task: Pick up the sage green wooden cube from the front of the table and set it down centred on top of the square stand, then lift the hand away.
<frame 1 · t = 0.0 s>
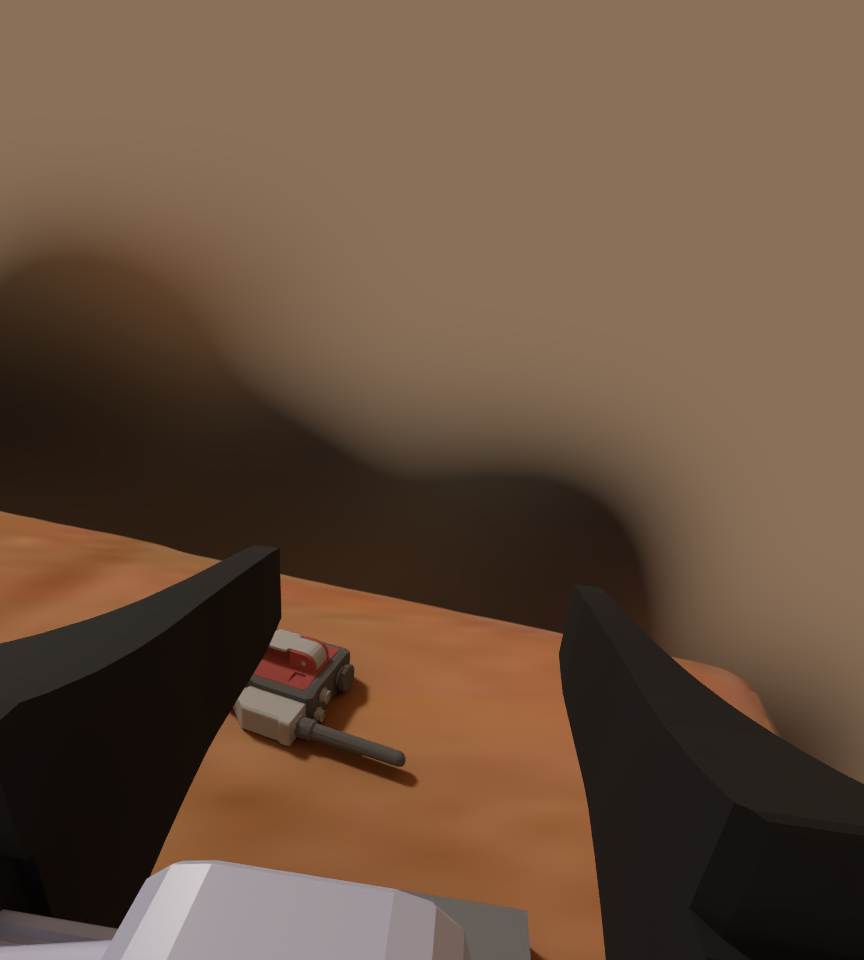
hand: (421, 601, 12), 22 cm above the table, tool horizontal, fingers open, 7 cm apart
walkie-talkie: (297, 704, 39), on the table
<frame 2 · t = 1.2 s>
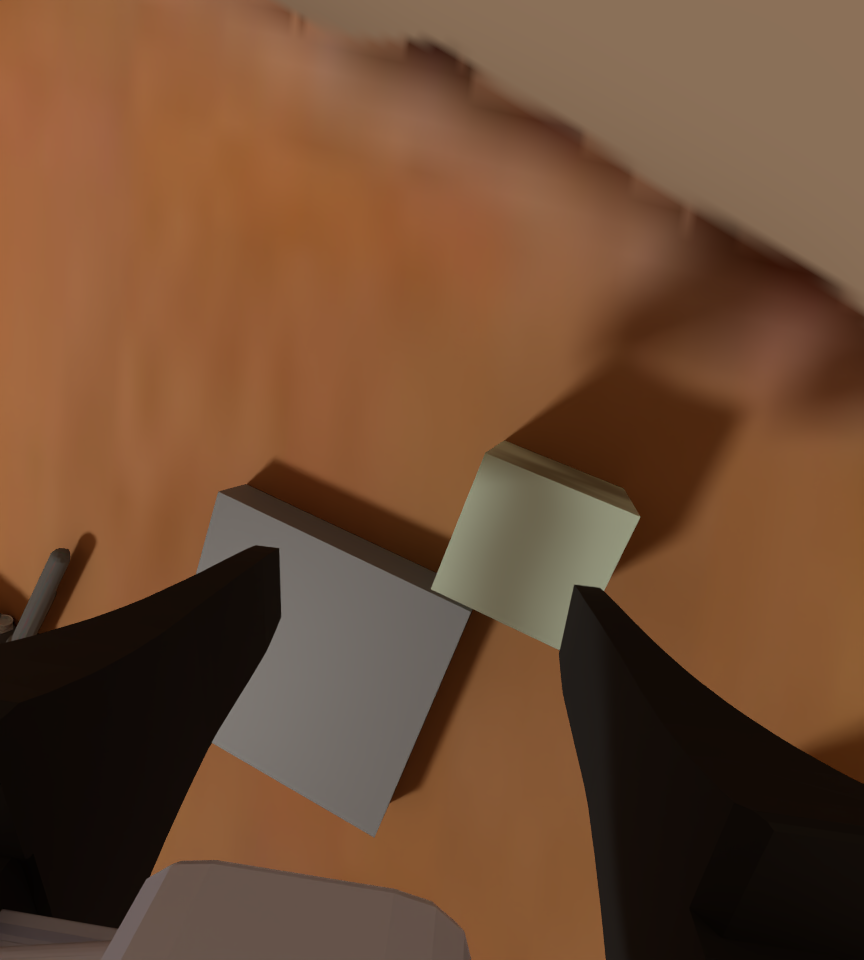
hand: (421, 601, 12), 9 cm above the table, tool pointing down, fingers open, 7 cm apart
stand: (318, 646, 25), on the table
cube: (538, 519, 21), on the table
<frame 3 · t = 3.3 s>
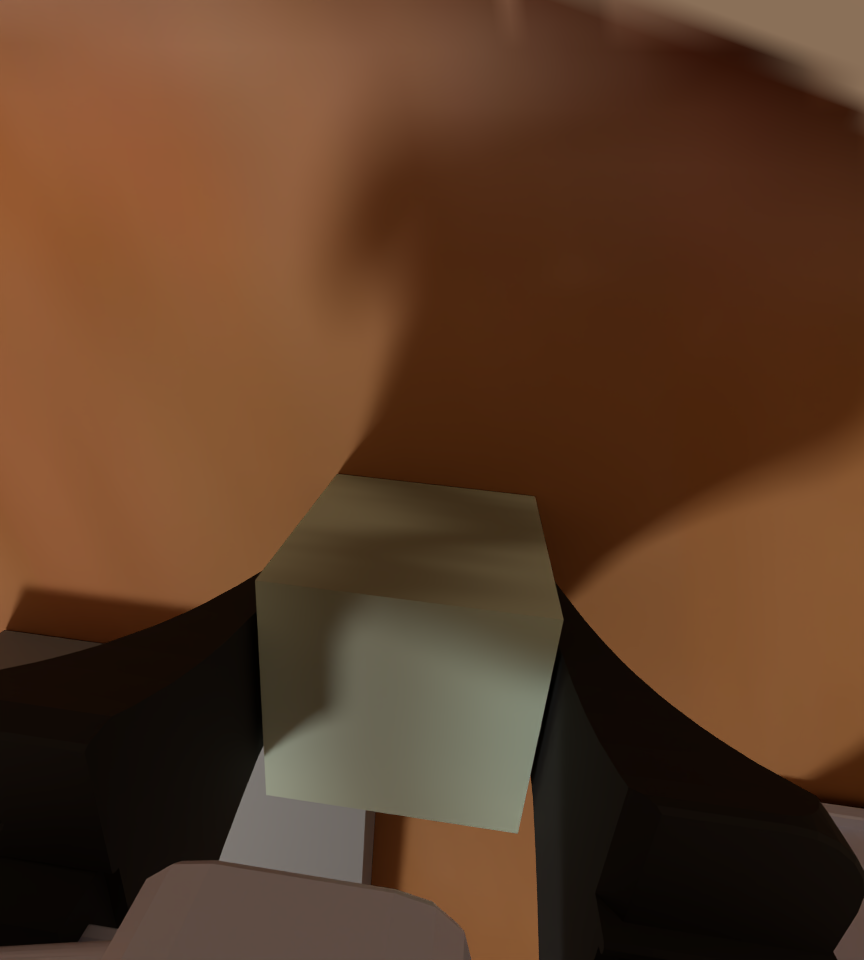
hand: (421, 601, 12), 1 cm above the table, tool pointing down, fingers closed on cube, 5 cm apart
stand: (205, 793, 18), on the table
cube: (426, 570, 14), on the table, touching gripper
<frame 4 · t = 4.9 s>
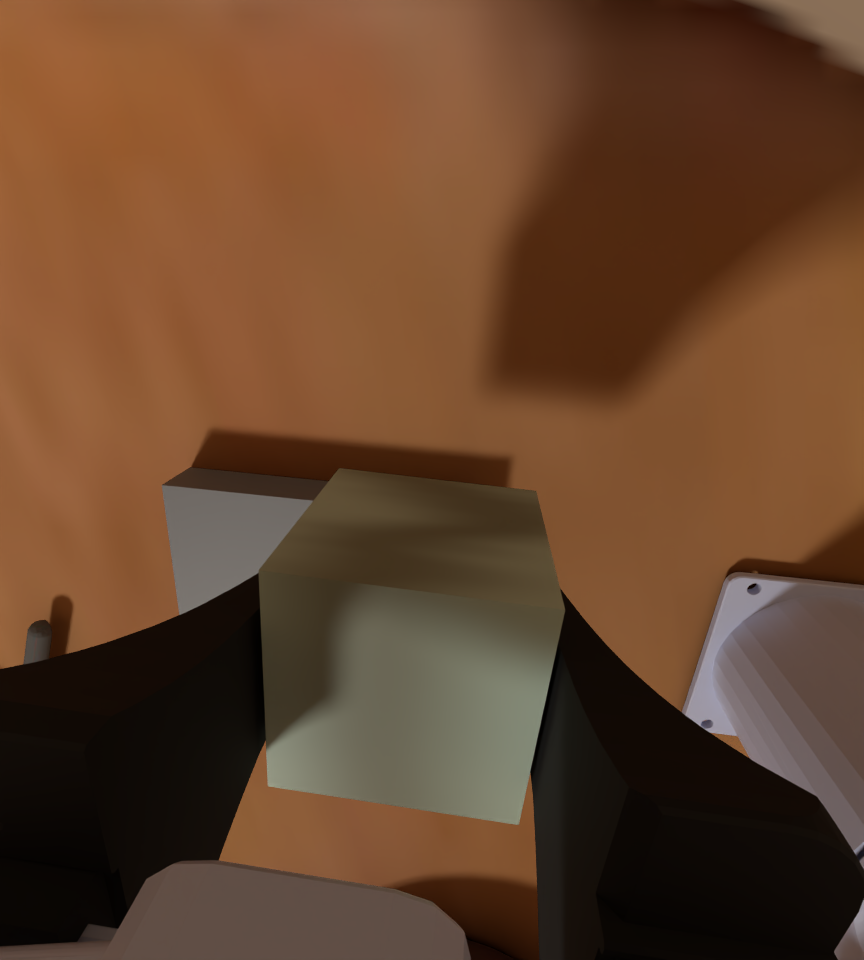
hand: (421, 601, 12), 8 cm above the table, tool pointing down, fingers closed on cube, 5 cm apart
stand: (332, 605, 23), on the table
cube: (428, 565, 14), point 7 cm above the table, touching gripper
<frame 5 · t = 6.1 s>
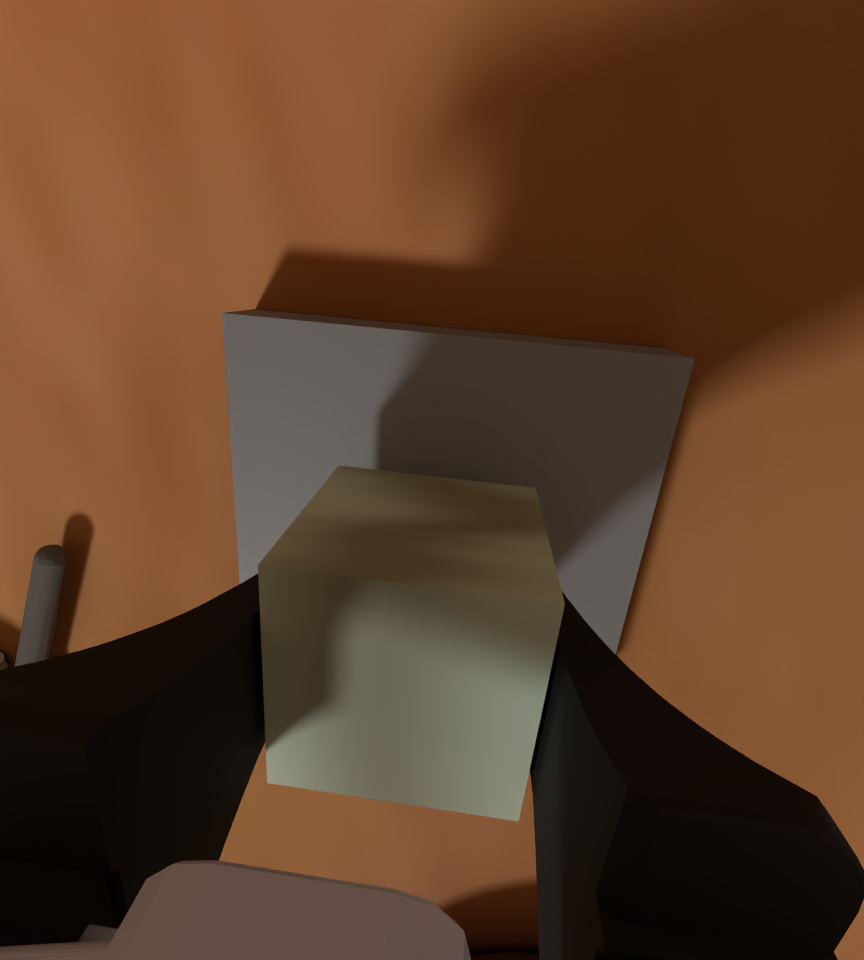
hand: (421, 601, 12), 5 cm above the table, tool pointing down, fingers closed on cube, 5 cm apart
stand: (438, 515, 17), on the table
cube: (427, 562, 14), point 3 cm above the table, touching gripper
when the fingers open (5 cm above the table, at t = 6.9 s): cube drops 1 cm, resting on stand.
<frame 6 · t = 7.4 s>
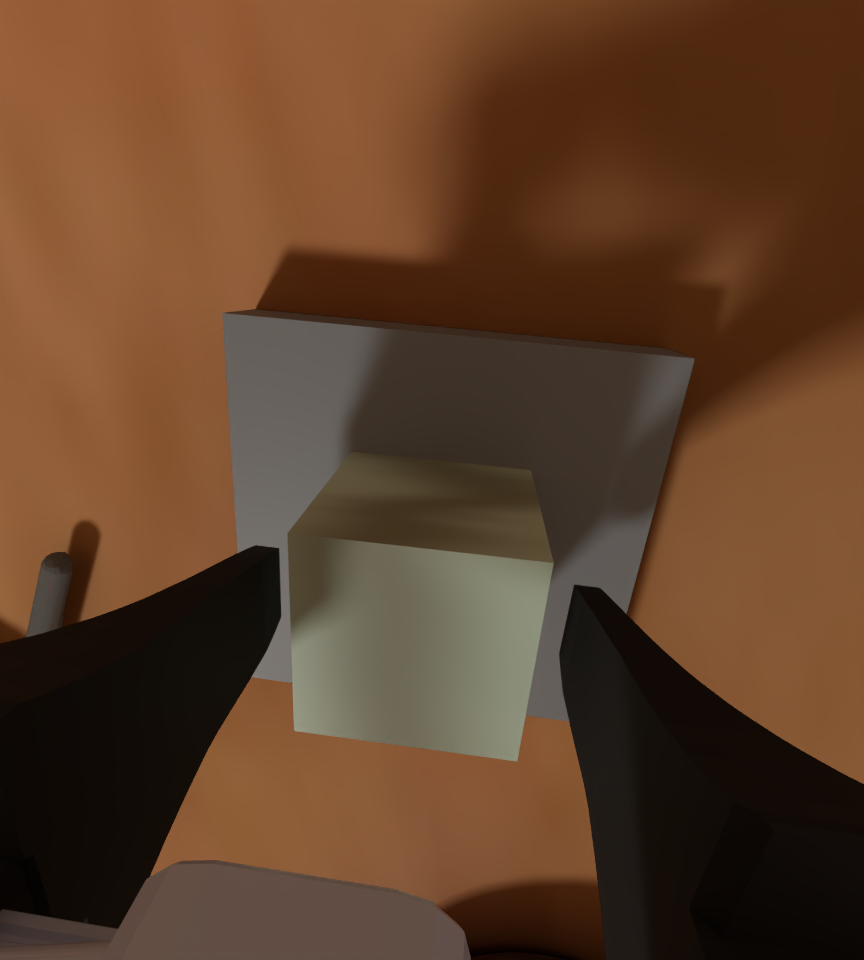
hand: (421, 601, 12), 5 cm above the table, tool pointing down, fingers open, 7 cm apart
stand: (438, 515, 17), on the table
cube: (433, 540, 15), point 2 cm above the table, touching stand
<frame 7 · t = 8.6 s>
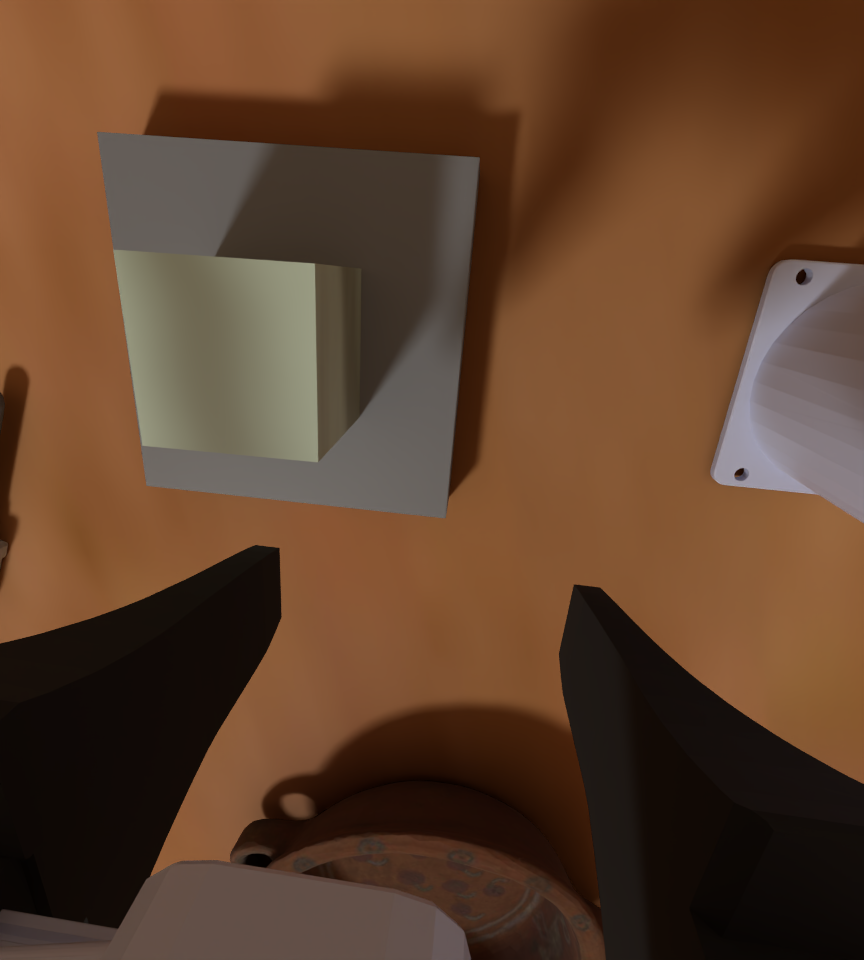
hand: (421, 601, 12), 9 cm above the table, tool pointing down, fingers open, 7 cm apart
dish: (432, 851, 30), on the table
stand: (307, 339, 20), on the table
cube: (289, 341, 18), point 2 cm above the table, touching stand
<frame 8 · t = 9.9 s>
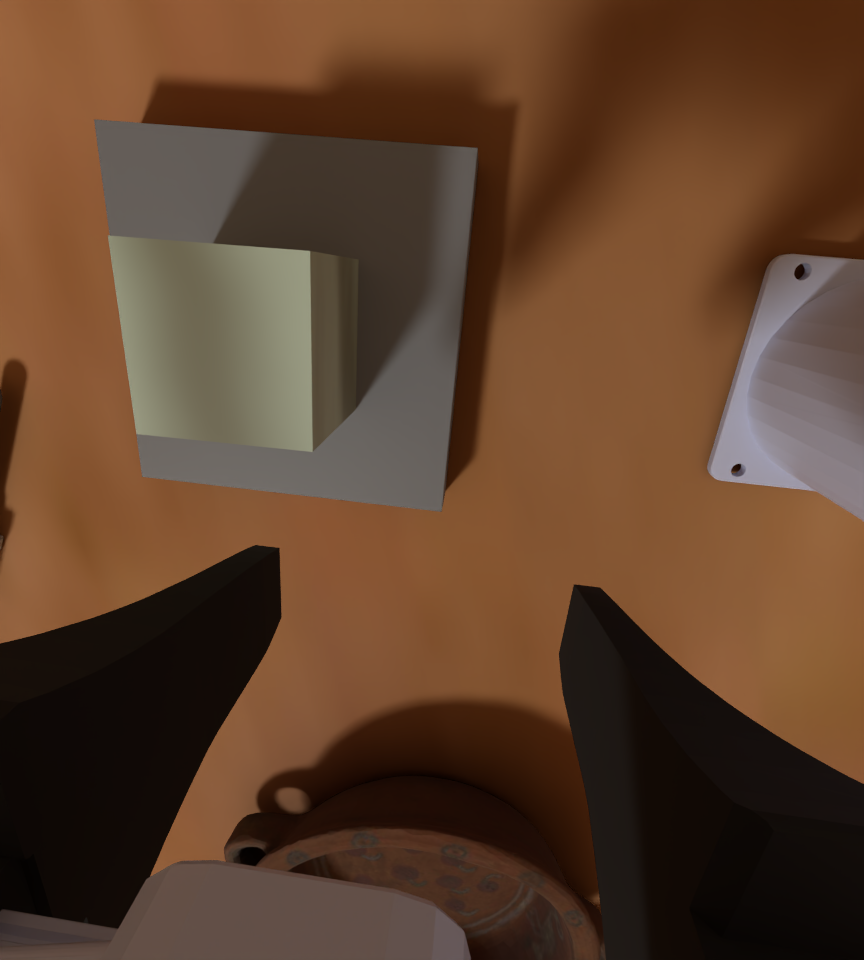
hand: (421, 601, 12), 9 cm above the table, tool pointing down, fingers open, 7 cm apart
dish: (426, 846, 30), on the table
stand: (304, 330, 20), on the table
cube: (286, 332, 18), point 2 cm above the table, touching stand
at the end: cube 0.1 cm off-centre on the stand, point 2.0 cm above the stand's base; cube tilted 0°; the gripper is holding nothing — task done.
